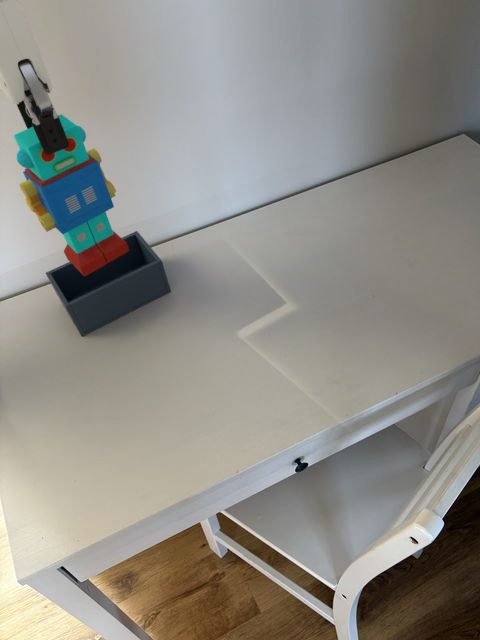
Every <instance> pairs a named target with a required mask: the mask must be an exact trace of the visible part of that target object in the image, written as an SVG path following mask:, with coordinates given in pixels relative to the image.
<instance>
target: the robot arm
mask: <svg viewBox="0 0 480 640" xmlns="http://www.w3.org/2000/svg"><path fill="white" fill-rule="evenodd" d="M52 89H53V84H52V81H51V78H50V75H49V72H48V68H47V67H46V64H45V61H44V58H43V56H42V53H41V50H40V48H39V45H38V42H37V40H36V38H35V35H34V33H33V30H32V28H31V25H30V24H29V20H28V17H27V14H26V13H25V10H24V8H23V6H22V4H21V1H20V0H0V90H1V91H2V93H3V94H4V95H5V96H6V98H7V99H8V100H9V102H11V103H12V104H15V105H16V107H17V108H18V111H19V114H20V115H21V118H22V120H23V123H24V124H25V127H26V129H29V128H31V127H33V128H34V130H35V133H36V135H37V137H38V140H39V142H40V144H41V147H42V149H43V151H44V153H45V154H46V155H49V154H52V153H55V152H57V151H60V150H62V149H65V148H68V147H69V142H68V140H67V137H66V134H65V132H64V129H63V127H62V124H61V122H60V119H59V116H58V115H59V114H58V113H57V111H56V109H55V106H54V105H53V102H52V100H51V98H50V96H49V95H50V94H51V92H52ZM26 107H27V112H28V114H29V115H30V116H31V118H30V117H29V116H28V114H27V113H26ZM32 121H33V122H34V123H33V122H32Z"/></svg>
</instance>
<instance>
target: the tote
mask: <svg viewBox="0 0 480 640" xmlns="http://www.w3.org/2000/svg"><path fill="white" fill-rule="evenodd" d="M121 238H122V239H123V240H124V241H125V242H126V243H127V245H128V248H129V251H128V252H126V253H125V254H123V255H121V256H120V257H118V258H116V259H114V260H113V261H111V262H109V263H107V264H106V265H104V266H102V267H100V268H99V269H97V270H95V271H93V272H92V273H90V274H88V275H87V276H85V277H84V276H83V275H82V274H81V272H80V271H79V270H78V269H77V268H76V267H75V266H74V265H73V264H72V263H71V262H70V261H68V262H66V263H64V264H62V265H60V266H57V267H55V268H53V269H50V270H49V271H46V272H45V275H46V277H47V278H48V280H49V283H50V285H51V286H52V288H53V290H54V292H55V293H56V295H57V298H58V299H59V301H60V302H61V305H62V307H63V308H64V309H65V311H66V313H67V314H68V316H69V318H70V319H71V321H72V323H73V324H74V326H75V328H76V329H77V331H78V333H79V334H80V336H81V337H85V336H86V335H88V334H90V333H92V332H94V331H96V330H99V329H100V328H102V327H104V326H106V325H108V324H110V323H112V322H115V321H116V320H118V319H120V318H122V317H125V316H126V315H128V314H130V313H132V312H134V311H136V310H138V309H140V308H142V307H143V306H145V305H147V304H149V303H151V302H154V301H155V300H158V299H159V298H162V297H163V296H165V295H167V294H169V293H171V292H172V289H171V286H170V284H169V279H168V277H167V274H166V271H165V270H166V269H165V267H164V263H163V260H162V259H161V258H160V257H159V256H158V254H157V253H156V251H155V250H154V249H153V248H152V247H151V246H150V244H149V243H148V242H147V241H146V240H145V238H143V236H142V235H141V234H140V232H139V231H138V230H135V231H133V232H132V233H129V234H126V235H124V236H123V237H121Z"/></svg>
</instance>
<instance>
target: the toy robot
mask: <svg viewBox="0 0 480 640" xmlns="http://www.w3.org/2000/svg"><path fill="white" fill-rule="evenodd" d="M26 113H27V114H28V112H27V107H26ZM57 115H58V116H59V119H60V122H61V124H62V127H63V129H64V132H65V134H66V137H67V140H68V142H69V147H68V148H65V149H62V150H60V151H57V152H55V153H52V154H49V155H46V154H45V153H44V151H43V149H42V147H41V144H40V142H39V140H38V137H37V135H36V133H35V130H34V128H33V127H31V128H29V129H27V128H26V129H24V130H21V131H20V132H17V133H15V134H13V137H14V140H15V142H16V144H17V146H18V149H19V150H18V151H17V153H16V160H17V163H18V164H19V165H20V166H21V167H22V168H24V170H23V171H22V173H23V175H24V176H23V177H25V181H22V182H20V183H19V184H18V186H19V188H20V190H21V192H22V194H23V195H24V196H25V199H24V201H25V202H26V205H27V206H28V208H29V209H30V211H31V212H32V213H35V215H36V216H37V220H38V221H39V223H40V225H41V226H42V229H44V231H45V232H47V233H48V232H50V231H51V230H53V229H56V230H57V231H58V232H59V233H60V234H61V235H62V236H63V238H64V240H65V242H66V245H65V247H64V250H63V253H64V255H65V257H66V259H67V260H68V262H71V263H72V264H73V265H74V266H75V267H76V268H77V269H78V270H79V271H80V272H81V274H82V275H83V276H84V277H85V276H87V275H88V274H90V273H92V272H93V271H95V270H97V269H99V268H100V267H102V266H104V265H106V264H107V263H109V262H111V261H113V260H114V259H116V258H118V257H120V256H121V255H123V254H125V253H126V252H128V251H129V248H128V245H127V243H126V242H125V241H124V240H123V239H122V237H121V236H120V235H119V234H118V233H117V232H115V231H114V230H113V228H112V226H111V223H110V220H109V216H108V214H107V211H109V210H112V209H113V208H114V206H115V205H114V203H113V199H112V198H115V197H116V194H115V193H117V190H116V188H115V186H114V184H113V183H112V182H111V181H110V180H108V179H107V178H106V176H105V173H104V171H103V169H102V167H101V163H102V161H103V160H102V158H101V155H100V153H99V152H98V151H97V150H96V148H92V149H89V150H87V149H86V146H85V144H84V143H85V141H86V140H87V139H86V138H87V134H86V131H85V130H84V128H83V127H82V126H80V125H77V124H75V123H74V122H73V121H72V120H71V119H69V118H67V117H66V116H65V115H63V113H60V114H57ZM28 116H29V117H30V118H31V116H30V115H29V114H28ZM32 122H33V121H32ZM33 123H34V122H33Z"/></svg>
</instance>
